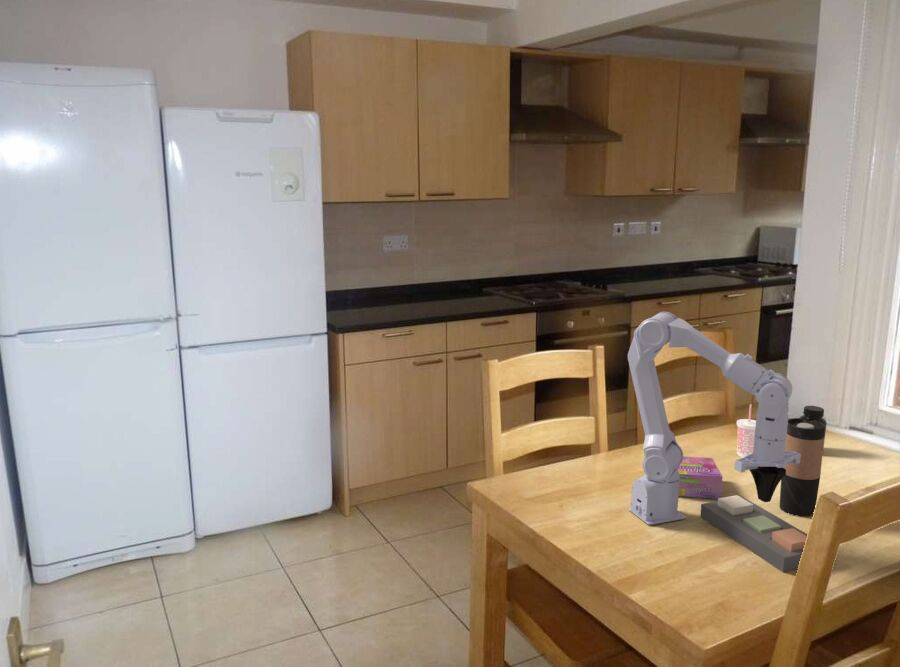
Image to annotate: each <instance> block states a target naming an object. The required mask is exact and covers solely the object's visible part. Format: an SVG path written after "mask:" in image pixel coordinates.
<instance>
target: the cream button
mask: <svg viewBox="0 0 900 667" xmlns="http://www.w3.org/2000/svg"><path fill="white" fill-rule="evenodd" d="M741 497H742V496H739V495H737V494H735V495H732V496H725V497H721V498H718V499H717V501H718V504H717V506H718V507H720V508H722V509H723V510H725V511H726V512H728V513H730V514H731V515H733V516H734V515H740V514H745V513H751V512H753V504H751V503H750V502H748V501H746V500H744V499H743V498H741Z"/></svg>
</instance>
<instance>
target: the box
mask: <svg viewBox="0 0 900 667" xmlns="http://www.w3.org/2000/svg"><path fill="white" fill-rule="evenodd" d="M677 469H678V472H679V474H680V480H679V495H678V498H679V497H680V498H695V499H696V498H697V499H698V498H699V499H715V500H716V499H717V500H718V498H722V487H723V474H722V473H721V471H720V469H719V468H718V466H717V464H716V462H715V460H714V458H713V457H707V456H706V457H705V456H686V455H685V456H684V455H683V461H682V463H681V464H680V465H679V466H678V467H677Z"/></svg>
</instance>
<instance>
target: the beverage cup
mask: <svg viewBox="0 0 900 667" xmlns="http://www.w3.org/2000/svg"><path fill="white" fill-rule="evenodd" d="M752 407H753V404H752V403H750V404H749V407H748V408H749V409H748V418H742V419H741V418H740V419H737V420H736V426H737V434H736V435H737V436H736V437H737V441H736V442H737V443H736V444H737V445H736V446H737V448H736V453H737V454H738V455H739V457H740V456H741V457H740V458H743V457H746V456H748V455H750V454H752V453H753V448H754V437H755V427H756V419H751V418H752V416H751V415H752ZM737 454H736V455H737ZM738 455H737V456H738Z"/></svg>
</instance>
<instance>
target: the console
mask: <svg viewBox="0 0 900 667" xmlns="http://www.w3.org/2000/svg"><path fill="white" fill-rule="evenodd" d="M740 497H741V498H743V499H744V500H746V501H748V502H750V503H751V504H753V512H751V513H745V514H740V515H734V516H733V515H731V514H730V513H728V512H726V511H725V510H723V509H722V508H720V507H718V506H717V504H718V500H717V501H712V502H706V503H701V504H700V505H701V506H700V518H701V519H702V520H704V521H706V522H707V523H709V524H710V525H712V526H713V527H715V528H716V529H717V530H720V531H721V532H722V533H724V534H725V535H726V536H728V537H729V538H731V539H732V540H734V541H736V542H737V543H738V544H740V545H742V546H743V547H745V548H746V549H747V550H749V551H750V552H752V553H753V554H755V555H757V556H758V557H759V558H761V559H762V560H764V561H765V562H766V563H768V564H770V565H772V566H773V567H774V568H776V569H778V570H779V571H780V572H782V573H785V572H790V571H794V570H798V569H797V568H798V565H799V561H800V558H801V555H802V552H803V550H799V551H794V552H790V551H788V550H787V549H785V548H784V547H782V546H781V545H779V544H777V543H776V542H774V541H773V540H772V532H775V531H780V530H785V529H790V528H794V529H796V530H797V531H799V532H801V533H802V534H804V535H806V536H807V533H805V531H803V530H800V529H799V528H797V527H796V526H794V525H792V524H790V523H789V522H788V521H785V520H783V519H782V518H780V517H779V516H776V515H775V514H773V513H772V512H770V511H768V510H766V509H765V508H763V507H761V506H760V505H758V504H756V503H754V502H753V501H751V500H749V499H747V498H746V497H744V496H740ZM757 516H765V517H767V518H768V519H770V520H772V521H774V522H775V523H777V524H779V525H780V526H781V529H779V530H773V531H768V532H763V533H760V532H758V531H757V530H755V529H753V528H752V527H750V526H749V525H747V524H745V523H744V522H743V519H746V518H752V517H757Z"/></svg>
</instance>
